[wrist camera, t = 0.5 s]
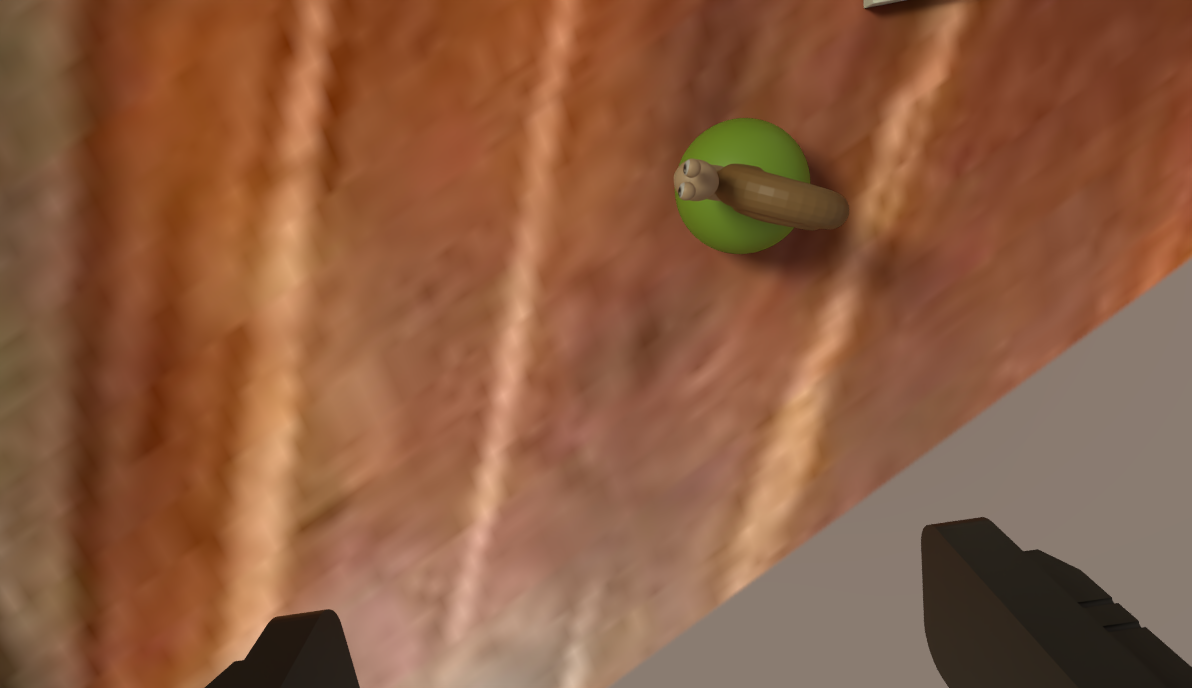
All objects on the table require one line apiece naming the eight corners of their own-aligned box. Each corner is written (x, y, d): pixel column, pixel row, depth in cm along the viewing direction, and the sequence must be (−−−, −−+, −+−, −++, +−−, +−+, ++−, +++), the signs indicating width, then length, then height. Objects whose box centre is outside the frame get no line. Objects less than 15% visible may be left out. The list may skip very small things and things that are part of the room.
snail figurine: (661, 104, 32) (703, 79, 20) (804, 134, 32) (925, 126, 21) (635, 227, 33) (659, 270, 22) (772, 255, 34) (869, 312, 22)
